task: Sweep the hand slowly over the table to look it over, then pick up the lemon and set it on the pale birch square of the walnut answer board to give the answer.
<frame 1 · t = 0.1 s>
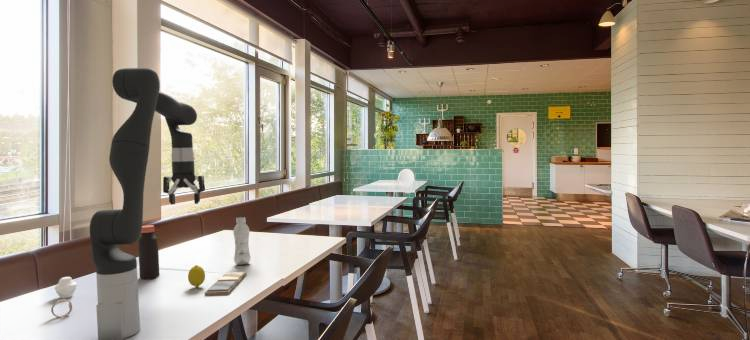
hand: (184, 203, 154), 29 cm above the table, tool pointing down, fingers open, 8 cm apart
plastic bottle: (242, 264, 178), on the table
answer board: (227, 284, 151), on the table
lemon: (197, 287, 148), on the table
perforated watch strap: (62, 317, 124), on the table
vinegar: (149, 277, 162), on the table
muffin: (66, 297, 142), on the table
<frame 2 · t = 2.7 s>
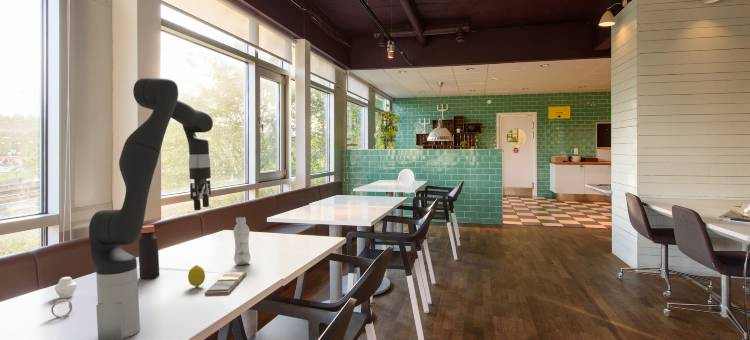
hand: (201, 208, 160), 27 cm above the table, tool pointing down, fingers open, 8 cm apart
nothing on the table moved.
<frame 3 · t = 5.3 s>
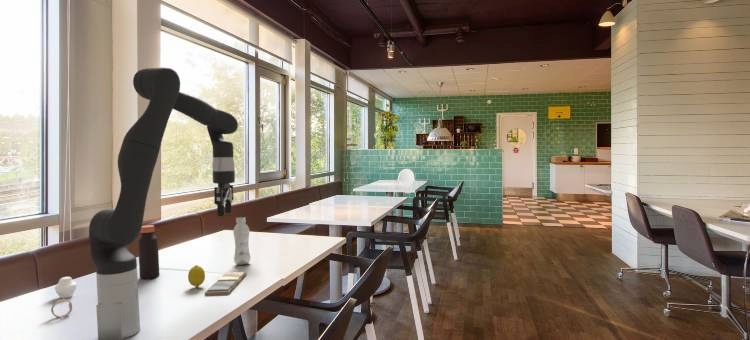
hand: (224, 214, 151), 25 cm above the table, tool pointing down, fingers open, 8 cm apart
nothing on the table moved.
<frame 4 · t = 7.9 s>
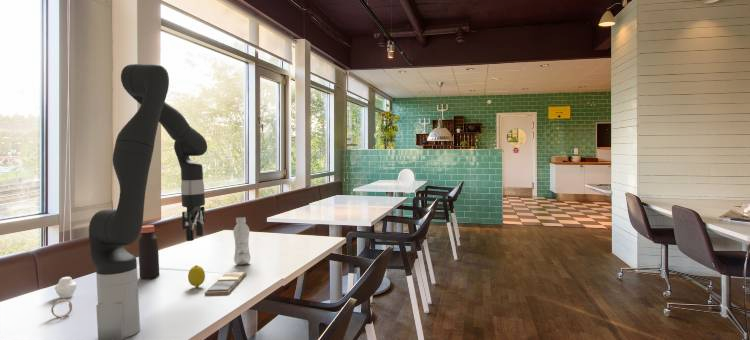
hand: (195, 238, 147), 18 cm above the table, tool pointing down, fingers open, 8 cm apart
nothing on the table moved.
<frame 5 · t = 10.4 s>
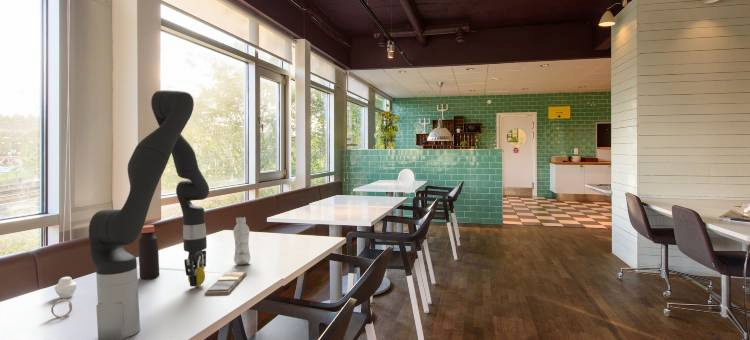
hand: (197, 283, 148), 2 cm above the table, tool pointing down, fingers closed on lemon, 5 cm apart
lemon: (197, 287, 148), on the table, touching gripper
everything else where it was.
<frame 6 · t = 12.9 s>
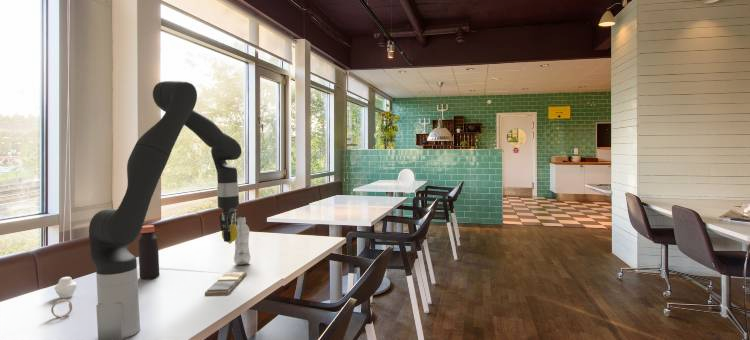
hand: (230, 239, 155), 15 cm above the table, tool pointing down, fingers closed on lemon, 5 cm apart
lemon: (230, 244, 155), point 14 cm above the table, touching gripper
everything else where it was.
when the fingers open (4 cm above the table, at t = 15.4 s): lemon stays where it is, resting on answer board.
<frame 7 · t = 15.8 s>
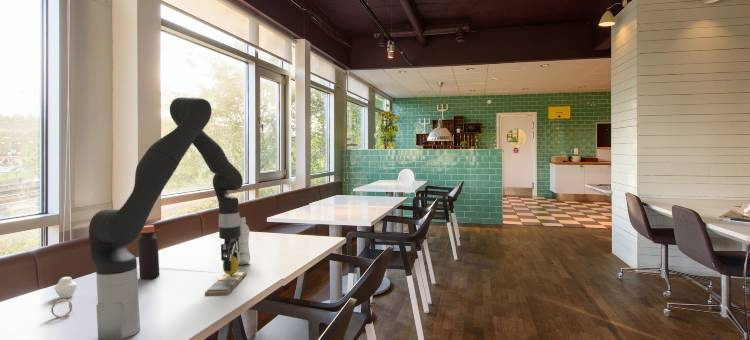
hand: (231, 267, 156), 5 cm above the table, tool pointing down, fingers open, 8 cm apart
lemon: (231, 276, 156), point 1 cm above the table, touching answer board
everything else where it was.
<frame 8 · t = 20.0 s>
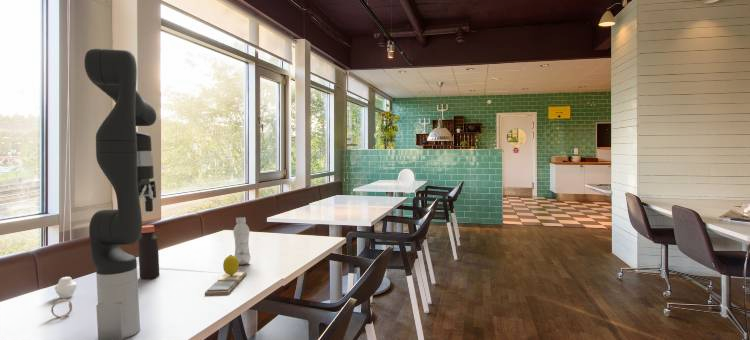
hand: (142, 213, 139), 28 cm above the table, tool pointing down, fingers open, 8 cm apart
nothing on the table moved.
at the end: lemon inside the target area on the answer board (0.1 cm from its centre), point 1.3 cm above the answer board's base; the gripper is holding nothing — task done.
